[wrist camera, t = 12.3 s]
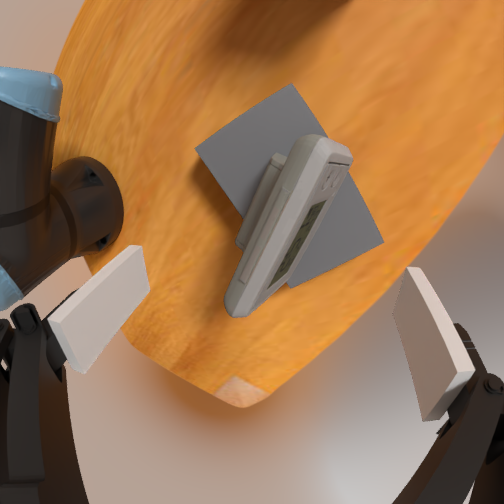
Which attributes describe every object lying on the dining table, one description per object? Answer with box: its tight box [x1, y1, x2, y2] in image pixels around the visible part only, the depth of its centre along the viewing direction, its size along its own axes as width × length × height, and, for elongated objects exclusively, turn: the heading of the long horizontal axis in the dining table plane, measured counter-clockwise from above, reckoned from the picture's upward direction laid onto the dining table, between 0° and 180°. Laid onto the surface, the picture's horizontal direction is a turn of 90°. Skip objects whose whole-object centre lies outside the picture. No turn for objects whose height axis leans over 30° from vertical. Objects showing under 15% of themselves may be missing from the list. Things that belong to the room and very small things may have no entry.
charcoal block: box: [194, 83, 384, 288], centre depth 31 cm, size 12×19×5 cm, turn 34°
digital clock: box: [224, 134, 353, 318], centre depth 24 cm, size 16×9×11 cm, turn 146°
